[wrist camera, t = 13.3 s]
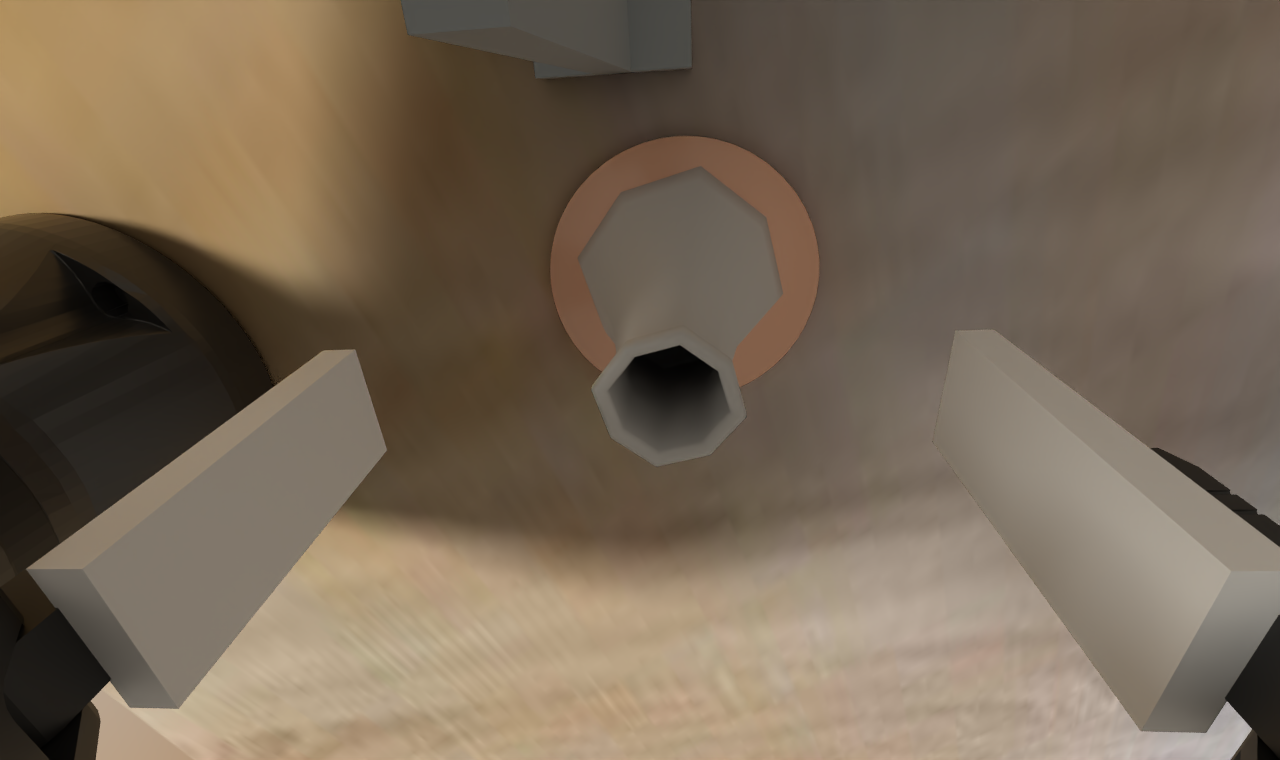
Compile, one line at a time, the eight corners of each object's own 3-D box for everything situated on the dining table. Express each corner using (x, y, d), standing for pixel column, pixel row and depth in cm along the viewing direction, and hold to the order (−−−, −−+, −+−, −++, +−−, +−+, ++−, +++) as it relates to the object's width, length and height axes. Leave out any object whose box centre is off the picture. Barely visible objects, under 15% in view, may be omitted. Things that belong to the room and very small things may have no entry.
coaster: (569, 393, 24) (566, 400, 24) (536, 144, 20) (532, 145, 19) (806, 391, 23) (809, 398, 23) (828, 126, 19) (831, 127, 18)
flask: (657, 393, 23) (634, 575, 14) (545, 250, 21) (434, 363, 12) (816, 296, 21) (905, 445, 12) (708, 124, 19) (719, 150, 10)
